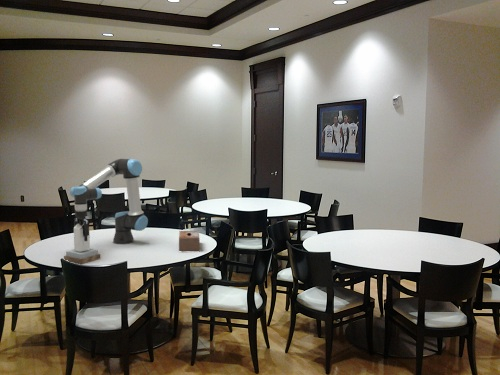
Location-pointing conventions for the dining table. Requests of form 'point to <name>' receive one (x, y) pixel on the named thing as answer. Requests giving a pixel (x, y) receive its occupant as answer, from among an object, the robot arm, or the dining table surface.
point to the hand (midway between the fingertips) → (82, 244)
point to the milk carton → (80, 239)
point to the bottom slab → (82, 261)
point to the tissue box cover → (189, 241)
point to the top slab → (81, 253)
